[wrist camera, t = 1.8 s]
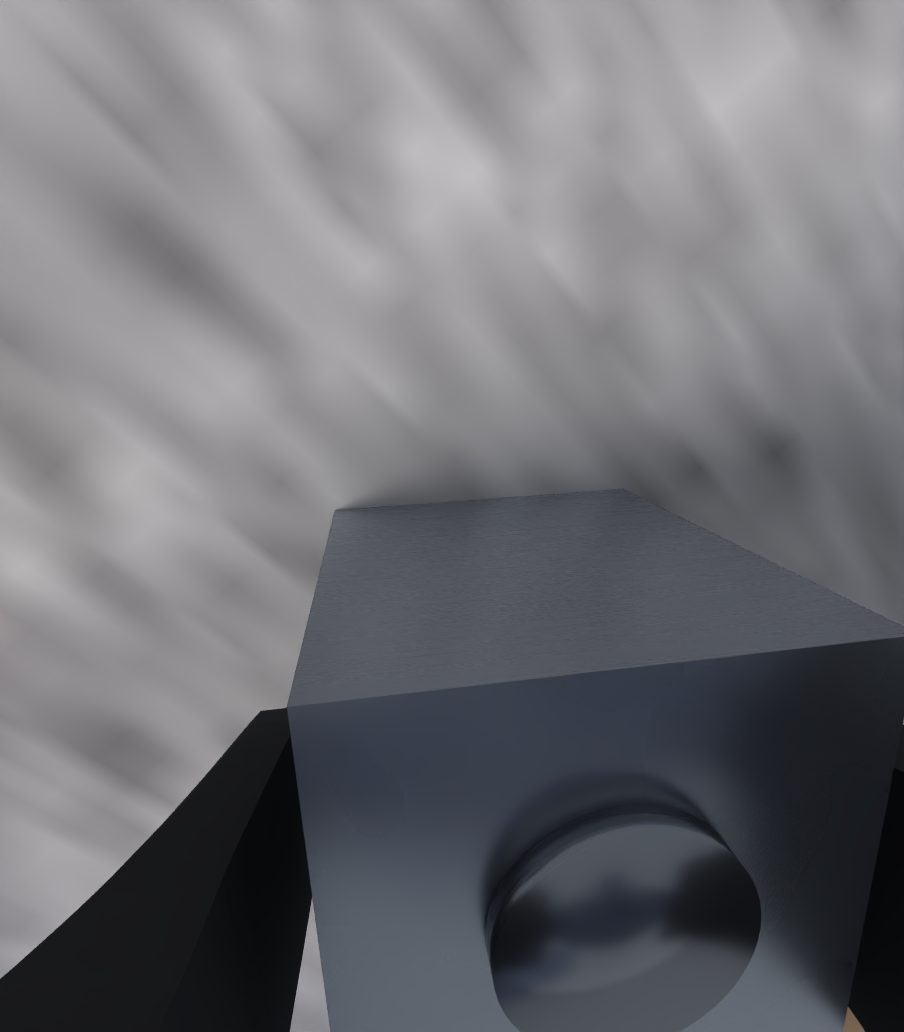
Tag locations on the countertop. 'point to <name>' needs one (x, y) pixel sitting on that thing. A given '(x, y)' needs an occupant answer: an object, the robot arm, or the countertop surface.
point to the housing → (586, 772)
